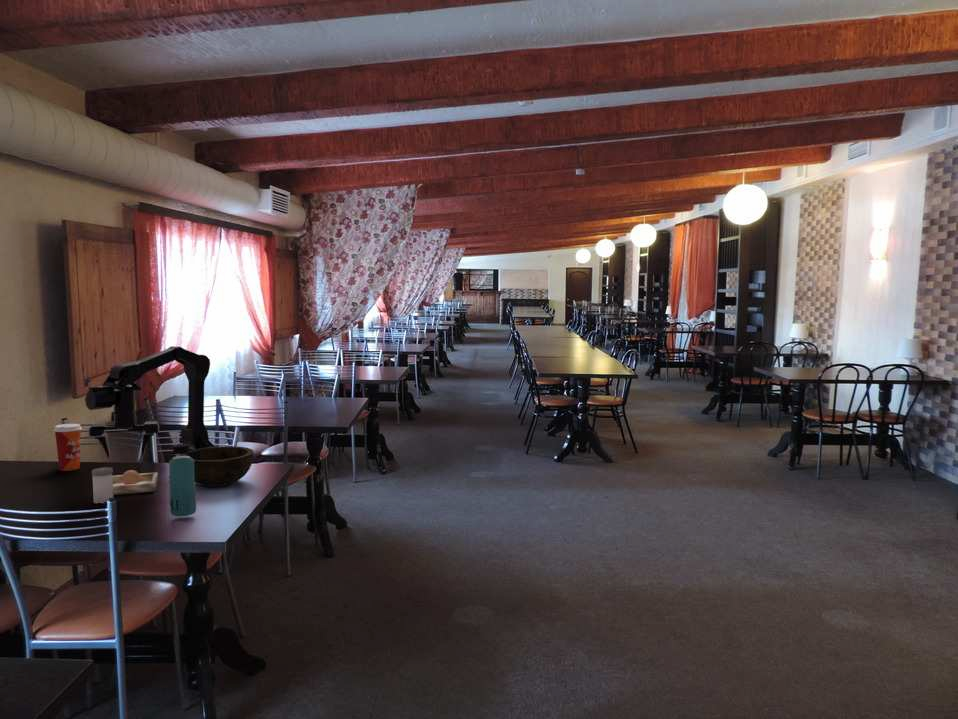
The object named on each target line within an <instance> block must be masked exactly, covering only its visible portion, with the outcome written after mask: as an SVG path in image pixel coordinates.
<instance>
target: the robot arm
mask: <svg viewBox="0 0 958 719" xmlns="http://www.w3.org/2000/svg"><path fill="white" fill-rule="evenodd" d="M174 361H175V362H176V363H178V364H180V365H182V366H183V370H184V371H183V372H184V374H185V376H186V379H187V382H188V391H187V394H188V395H187V396H188V398H187V400H188V402H187V403H188V404H187V406H188V407H187V410H188V411H187V425H186V426H185V428H181V430H180V435H181V436H180V441H181V444H188V445H189V450H194V449H200V448H207V447H216V446H215V445H214V444H213V442H211V441H210V438H209V433H208V432H209V431H208V430H207V427H206V425H205V423H204V419H205V418H204V417H205V414H204V413H205V411H204V410H205V380H206V379H207V377H208V376H209V372H210V368H211V359H210V358H209V357H208V356H207V355H206V354H200V353H199V354H198V353H195V352H193V351H191V350H188V349H185V348H183V347H182V346H177V345H176V346H174V345H172V346H169V347H168V348H167V349H164V350H161V351H158V352H155V353H154V354H151V355H149V356H146V357H144V358H141V359H139V360H136V361H130V362H124V363H119V364H115V365H113V366H112V367H110V371H109V374H108V376H107V377H106V379H105V380H104V381H103V383H102V384H101V385H100V386H89V387H88V391H87V393H86V394H85V397H84V401H85V406H86V408H87V409H88V410H89V411H95V410H96V411H97V410H104V409H111V408H112V407H113V411H111V415H110V421H111V423H112V424H113V423H114V425H110V426H109V425H108V426H107V424H106V423H98V424H97V423H94V424H92V425H91V426H90V427H89V429H88V434H89V435H88V436H89V437H94V438H93V439H94V440H98V441H99V443H100V444H101V446H102V448H103V450H104V452H105V454H106V456H107V458H108V459H110V458H111V450H110V444H109V435H108V434H109V433H123V432H124V433H125V432H144V433H143V434H142V442H141V450H140V451H141V456H142V457H143V456H144V455H145V451H146V447H147V445H148V441H149V440H150V437H154V435H155V434H157V433H159V431H160V423H159V421H157V420H156V421H145V422H144V424H137V415H136V404H135V403H136V400H135V391H142V387H141V386H139V385H138V384H137V382H138V380H140V379H141V378H142V377H143V376H144V375H145V374H147V373H149V372H151V371H154V370H156V369H158V368H161V367H164V366H165V365H167V364H169V363H172V362H174Z"/></svg>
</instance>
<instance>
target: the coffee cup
mask: <svg viewBox="0 0 958 719" xmlns="http://www.w3.org/2000/svg"><path fill="white" fill-rule="evenodd" d="M82 429H83V428H82V426H81V424H80V423H66V424H65V423H63V424H57V425H55V427H54V430H53V432H54V434H55V443H56V453H57V461H58V462H57V463H58V469H59V471H61V472H62V471H63V472H68V471H69V472H71V471H75V470H79V469H80V466H81V440H82V439H81V438H82V437H81V436H82V435H81V434H82V433H81V432H82V431H81V430H82Z"/></svg>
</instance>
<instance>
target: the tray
mask: <svg viewBox="0 0 958 719" xmlns="http://www.w3.org/2000/svg"><path fill="white" fill-rule="evenodd" d="M138 474H139V481H138V482H137V484H129V485H125V484H124V483H123V481H122V476H123V474H120V475H119V474H117V475H112V478H113V496H115V495H116V496H117V495H126V494H127V495H128V494H138V493H149V492H150V493H152V492H156V489H157V484H158V481H159V475H158V474H159V473H158V472H145V473H138Z"/></svg>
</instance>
